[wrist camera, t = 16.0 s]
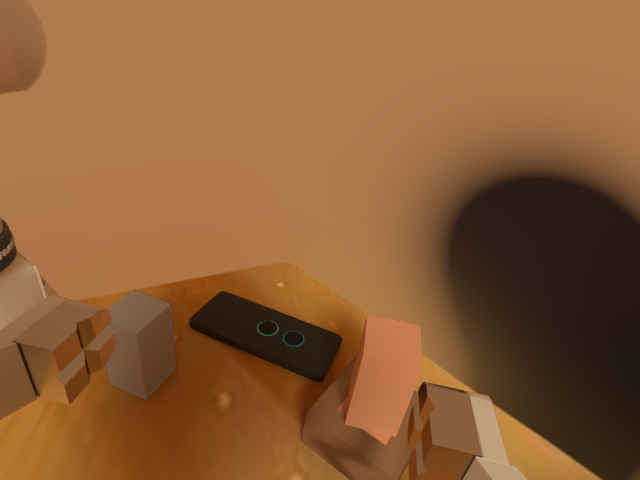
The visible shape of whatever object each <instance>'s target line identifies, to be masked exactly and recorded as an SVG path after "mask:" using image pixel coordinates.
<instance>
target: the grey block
mask: <svg viewBox="0 0 640 480" xmlns="http://www.w3.org/2000/svg"><path fill="white" fill-rule="evenodd" d="M107 310H110V313H111V317H112V322H111V323H110V324H109V325H108V326H109V327H110V328H111V329H112V331H113V332H114V333H115V337H116V345H115V350H114V352H113V354H112V356H111V358H110V360H109V361H108V362H107V363H106V367H107V372H108V376H109V381H110V384H111V385H113V386H115V387H117V388H119V389H122V390H124V391H126V392H128V393H130V394H132V395H135V396H137V397H139V398H141V399H143V400H146V401H147V400H148V399H149V398H150V397H151V396H152V395H153V394H154V393H155V391H156V390H157V389H158V388H159V387H160V386H161V385H162V384H163V383H164V382H165V381H166V380H167V379H168V377H169V376H170V375H171V374H172V373H173V372H174V371H175V370H176V369H177V364H176V352H175V340H174V328H173V316H172V304H170V303H167V302H165V301H162V300H159V299H157V298H154V297H151V296H149V295H146V294H143V293H141V292H138V291H136V290H133V291H132V292H130V293H129V294H127V295H126V296H124V297H123V298H122V299H120V300H119V301H117V302H116V303H115V304H113V305H112V306H110V307H109V308H107Z"/></svg>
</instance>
